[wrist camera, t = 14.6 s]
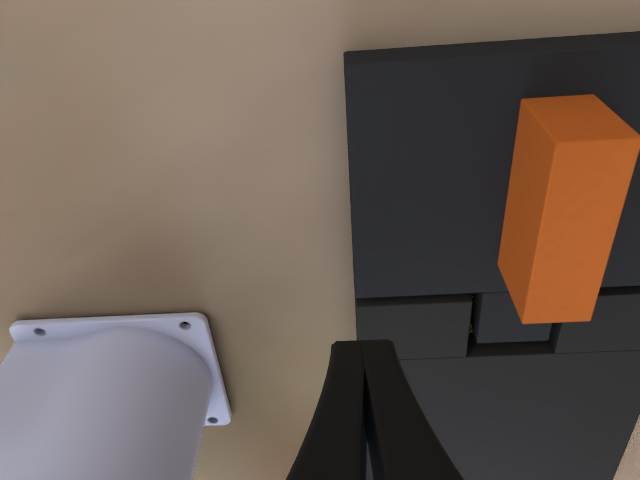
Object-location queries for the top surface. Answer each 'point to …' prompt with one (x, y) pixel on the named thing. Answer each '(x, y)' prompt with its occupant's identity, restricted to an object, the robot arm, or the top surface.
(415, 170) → the charcoal pad
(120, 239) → the top surface
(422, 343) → the black pad
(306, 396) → the top surface
